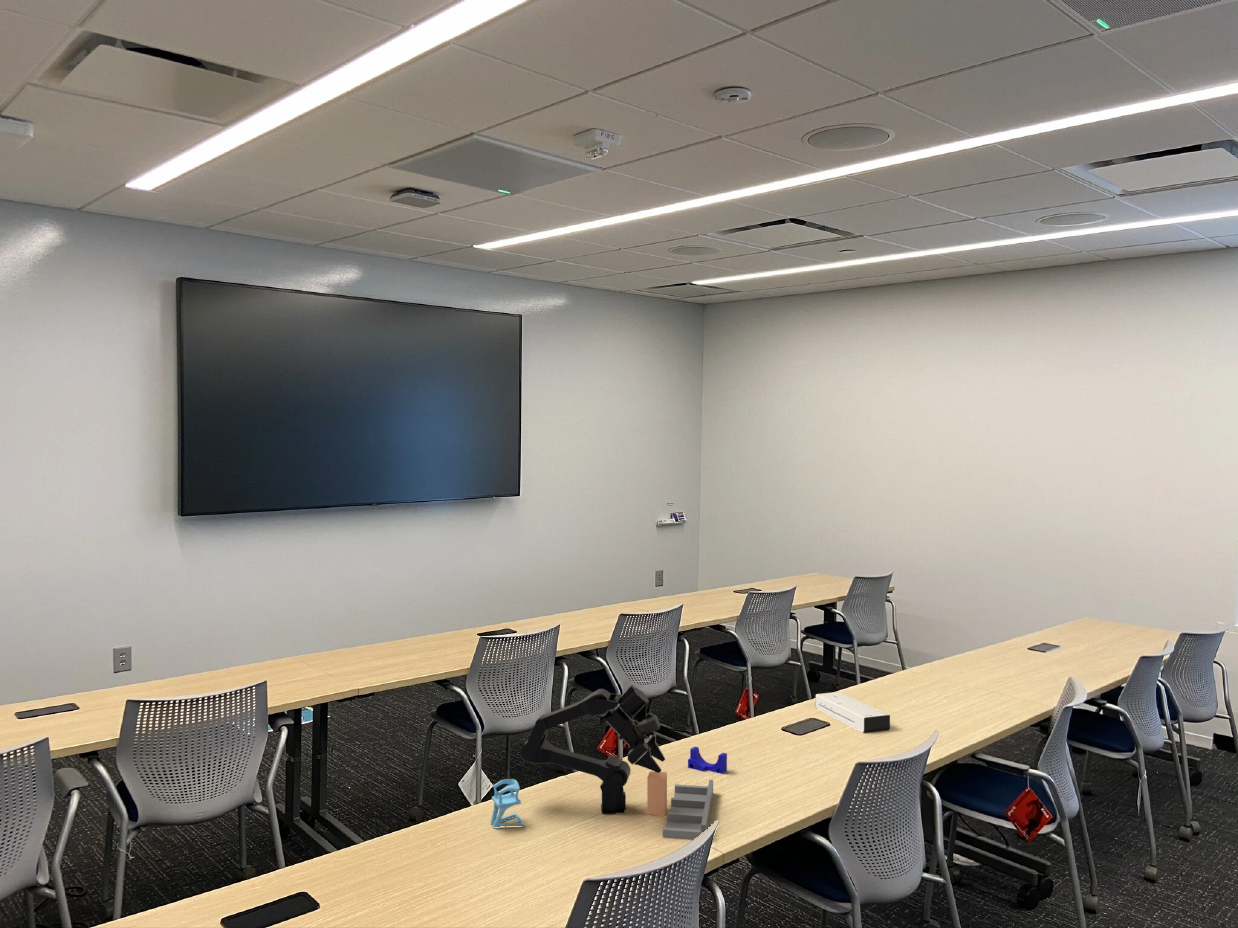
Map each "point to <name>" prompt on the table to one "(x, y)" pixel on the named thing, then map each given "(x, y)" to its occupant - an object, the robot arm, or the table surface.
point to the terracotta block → (657, 793)
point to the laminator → (852, 712)
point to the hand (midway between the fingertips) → (662, 765)
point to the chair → (505, 803)
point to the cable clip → (702, 765)
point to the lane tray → (689, 811)
